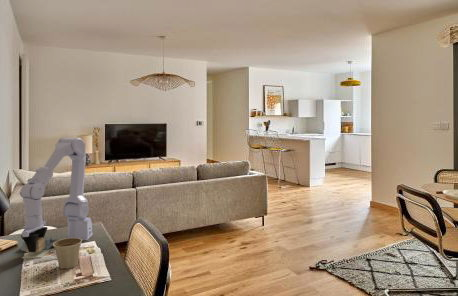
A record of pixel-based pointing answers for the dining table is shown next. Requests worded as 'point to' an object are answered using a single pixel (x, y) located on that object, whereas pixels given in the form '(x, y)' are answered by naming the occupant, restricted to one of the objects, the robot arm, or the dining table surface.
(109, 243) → the dining table surface
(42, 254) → the mat
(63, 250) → the flower pot
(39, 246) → the collar
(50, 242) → the vise
